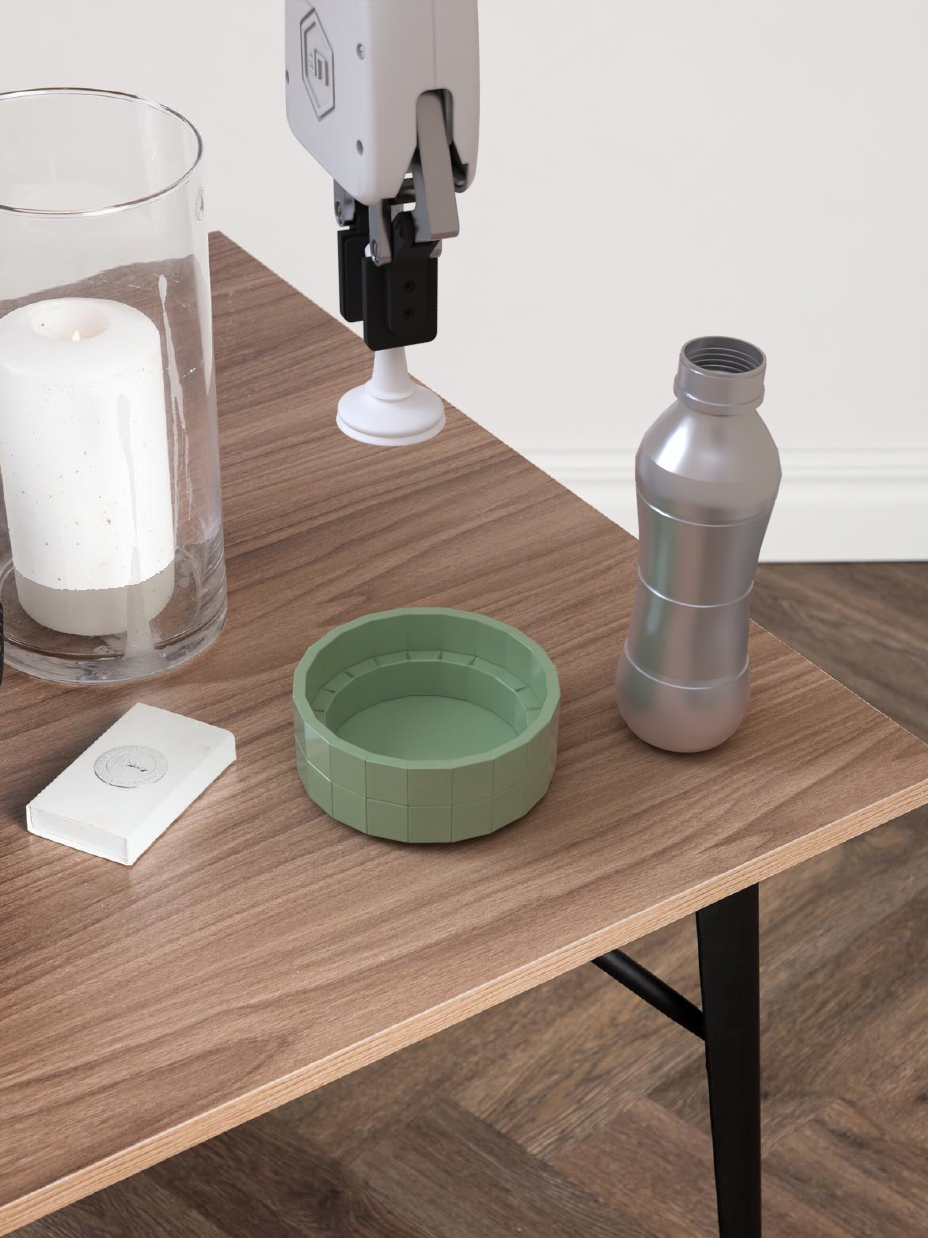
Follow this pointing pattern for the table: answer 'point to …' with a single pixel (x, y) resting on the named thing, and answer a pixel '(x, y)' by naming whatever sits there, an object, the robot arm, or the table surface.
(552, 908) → the table surface
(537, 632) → the table surface
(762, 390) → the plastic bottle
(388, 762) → the bowl
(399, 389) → the chess piece
